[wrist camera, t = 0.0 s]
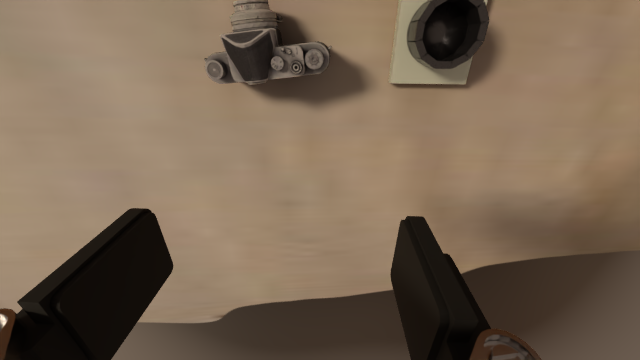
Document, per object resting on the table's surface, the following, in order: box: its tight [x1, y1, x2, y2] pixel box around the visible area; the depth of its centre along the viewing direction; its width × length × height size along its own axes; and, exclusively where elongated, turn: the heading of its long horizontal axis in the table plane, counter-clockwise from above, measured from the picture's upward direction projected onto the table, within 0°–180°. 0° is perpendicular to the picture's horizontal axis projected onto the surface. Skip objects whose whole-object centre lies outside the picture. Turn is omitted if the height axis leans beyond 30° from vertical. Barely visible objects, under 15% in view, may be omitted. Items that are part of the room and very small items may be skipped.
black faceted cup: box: [407, 0, 489, 69], centre depth 30 cm, size 8×8×4 cm
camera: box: [204, 0, 332, 85], centre depth 30 cm, size 16×8×10 cm, turn 95°
